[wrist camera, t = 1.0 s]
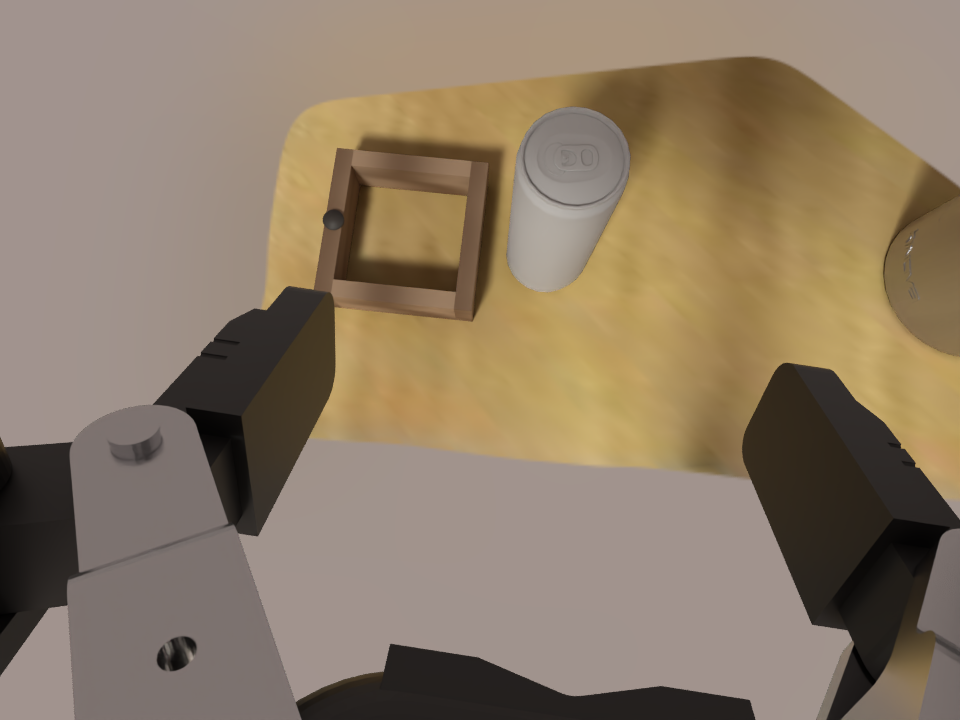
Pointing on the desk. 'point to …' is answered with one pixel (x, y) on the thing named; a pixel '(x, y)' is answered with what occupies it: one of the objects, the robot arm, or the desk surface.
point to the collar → (404, 175)
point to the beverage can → (564, 195)
